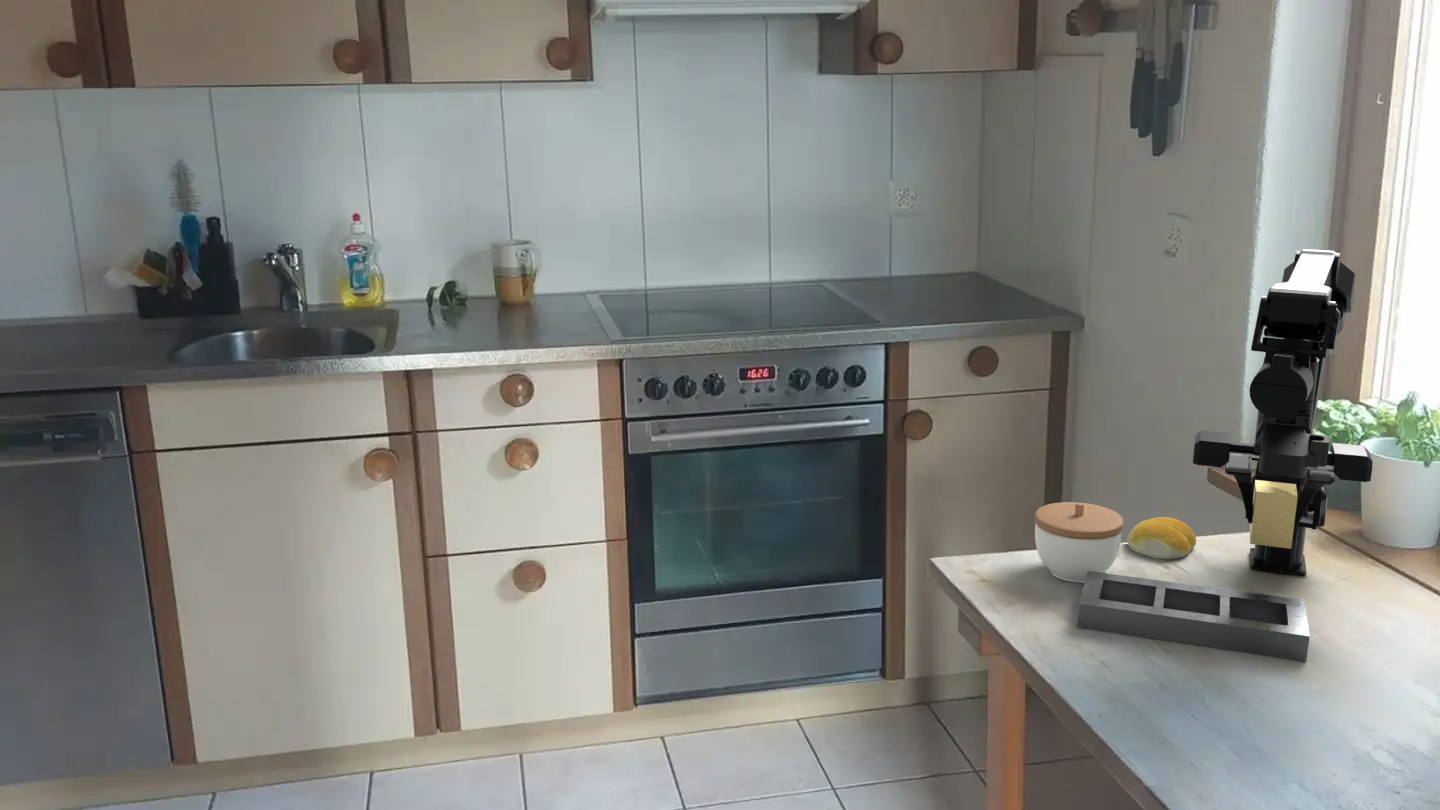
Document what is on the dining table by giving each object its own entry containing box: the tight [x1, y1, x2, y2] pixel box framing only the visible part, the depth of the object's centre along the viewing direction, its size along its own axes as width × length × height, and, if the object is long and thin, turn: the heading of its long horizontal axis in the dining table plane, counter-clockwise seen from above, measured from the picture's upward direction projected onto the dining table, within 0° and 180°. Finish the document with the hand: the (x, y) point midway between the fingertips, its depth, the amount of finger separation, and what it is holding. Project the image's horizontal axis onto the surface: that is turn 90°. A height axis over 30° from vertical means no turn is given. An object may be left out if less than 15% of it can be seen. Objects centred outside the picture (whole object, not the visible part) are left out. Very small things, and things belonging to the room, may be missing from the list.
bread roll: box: [1126, 516, 1197, 560], centre depth 165 cm, size 8×9×4 cm
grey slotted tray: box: [1076, 571, 1310, 662], centre depth 142 cm, size 10×24×3 cm, turn 68°
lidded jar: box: [1034, 501, 1124, 584], centre depth 156 cm, size 11×11×9 cm
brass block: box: [1249, 480, 1298, 549], centre depth 145 cm, size 4×4×6 cm
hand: (1271, 524), depth 146 cm, fingers closed on brass block, 4 cm apart
